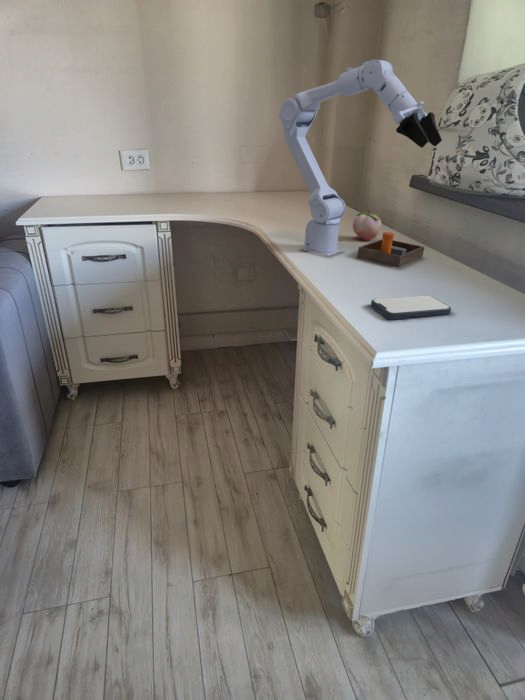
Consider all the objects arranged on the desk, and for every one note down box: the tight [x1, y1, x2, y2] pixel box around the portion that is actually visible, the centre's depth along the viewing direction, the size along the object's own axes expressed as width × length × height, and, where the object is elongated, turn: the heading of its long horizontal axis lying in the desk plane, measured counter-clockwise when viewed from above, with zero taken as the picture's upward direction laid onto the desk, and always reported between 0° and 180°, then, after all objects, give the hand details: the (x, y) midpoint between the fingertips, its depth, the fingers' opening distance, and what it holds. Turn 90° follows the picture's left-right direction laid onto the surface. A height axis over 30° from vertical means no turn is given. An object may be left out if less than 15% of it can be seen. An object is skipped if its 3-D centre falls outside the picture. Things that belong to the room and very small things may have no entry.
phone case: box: [370, 295, 452, 320], centre depth 108 cm, size 9×2×16 cm
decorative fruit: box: [352, 209, 383, 242], centre depth 159 cm, size 9×8×10 cm
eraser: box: [391, 246, 407, 256], centre depth 146 cm, size 5×3×2 cm, turn 49°
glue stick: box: [381, 231, 395, 254], centre depth 140 cm, size 3×3×8 cm
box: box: [357, 238, 425, 268], centre depth 143 cm, size 13×15×4 cm
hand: (431, 143), depth 118 cm, fingers open, 7 cm apart
